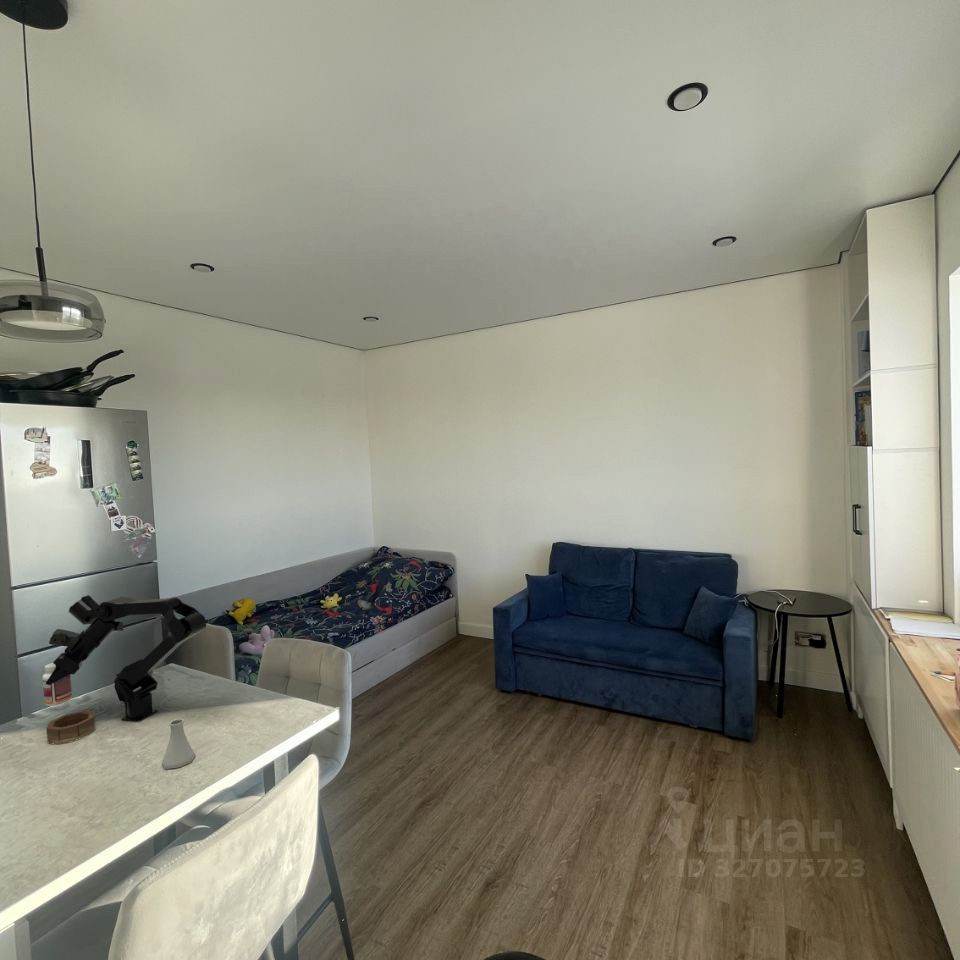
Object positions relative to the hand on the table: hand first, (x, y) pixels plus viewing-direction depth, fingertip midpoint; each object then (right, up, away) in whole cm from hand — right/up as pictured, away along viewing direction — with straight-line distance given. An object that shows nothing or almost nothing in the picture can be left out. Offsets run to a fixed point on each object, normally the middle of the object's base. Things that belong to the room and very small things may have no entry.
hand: (50, 680), depth 147 cm
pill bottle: (+2, -7, +1) cm, 7 cm away
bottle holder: (+10, -13, -5) cm, 17 cm away
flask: (+48, -12, -20) cm, 54 cm away
